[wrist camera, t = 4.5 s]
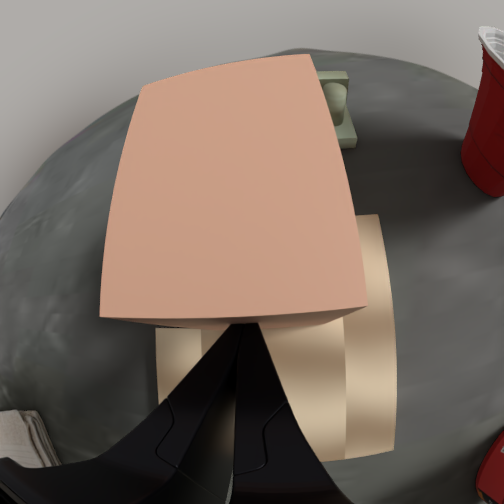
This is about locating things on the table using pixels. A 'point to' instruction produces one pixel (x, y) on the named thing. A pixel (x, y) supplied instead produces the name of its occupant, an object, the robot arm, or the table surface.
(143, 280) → the block
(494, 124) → the plastic cup
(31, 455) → the washcloth
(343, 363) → the trap board
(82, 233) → the table surface
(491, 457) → the canned food
